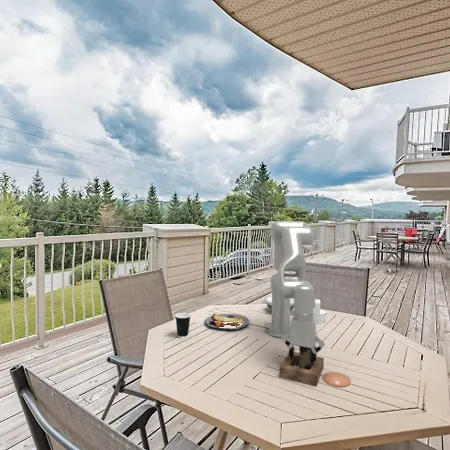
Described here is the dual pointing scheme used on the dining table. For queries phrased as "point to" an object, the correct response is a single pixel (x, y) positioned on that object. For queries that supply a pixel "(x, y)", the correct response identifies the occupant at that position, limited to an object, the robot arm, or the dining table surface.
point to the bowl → (269, 303)
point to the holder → (301, 370)
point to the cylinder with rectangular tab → (318, 313)
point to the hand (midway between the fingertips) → (302, 359)
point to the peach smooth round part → (336, 379)
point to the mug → (305, 358)
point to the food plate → (226, 320)
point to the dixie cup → (182, 324)
